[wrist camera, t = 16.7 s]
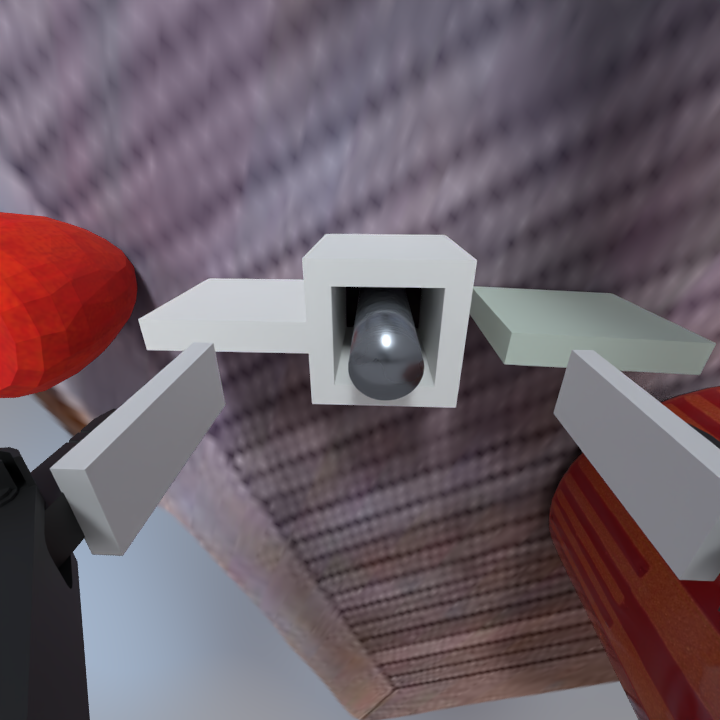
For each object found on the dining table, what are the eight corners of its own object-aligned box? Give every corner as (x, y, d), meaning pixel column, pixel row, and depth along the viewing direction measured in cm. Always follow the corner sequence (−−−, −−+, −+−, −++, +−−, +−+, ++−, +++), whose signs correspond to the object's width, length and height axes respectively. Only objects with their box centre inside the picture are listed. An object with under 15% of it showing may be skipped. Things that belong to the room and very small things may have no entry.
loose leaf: (470, 286, 23) (511, 332, 16) (611, 293, 23) (716, 343, 16) (465, 314, 24) (502, 369, 17) (601, 321, 24) (696, 380, 17)
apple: (44, 317, 26) (-154, 397, 16) (23, 187, 22) (-251, 191, 12) (168, 346, 27) (48, 441, 17) (169, 224, 23) (14, 256, 13)
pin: (360, 268, 23) (348, 332, 14) (406, 269, 23) (427, 334, 14) (359, 312, 25) (347, 399, 15) (403, 313, 25) (420, 401, 15)
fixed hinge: (200, 232, 23) (120, 256, 16) (445, 234, 22) (477, 260, 15) (220, 340, 26) (161, 399, 19) (433, 344, 26) (456, 407, 18)
